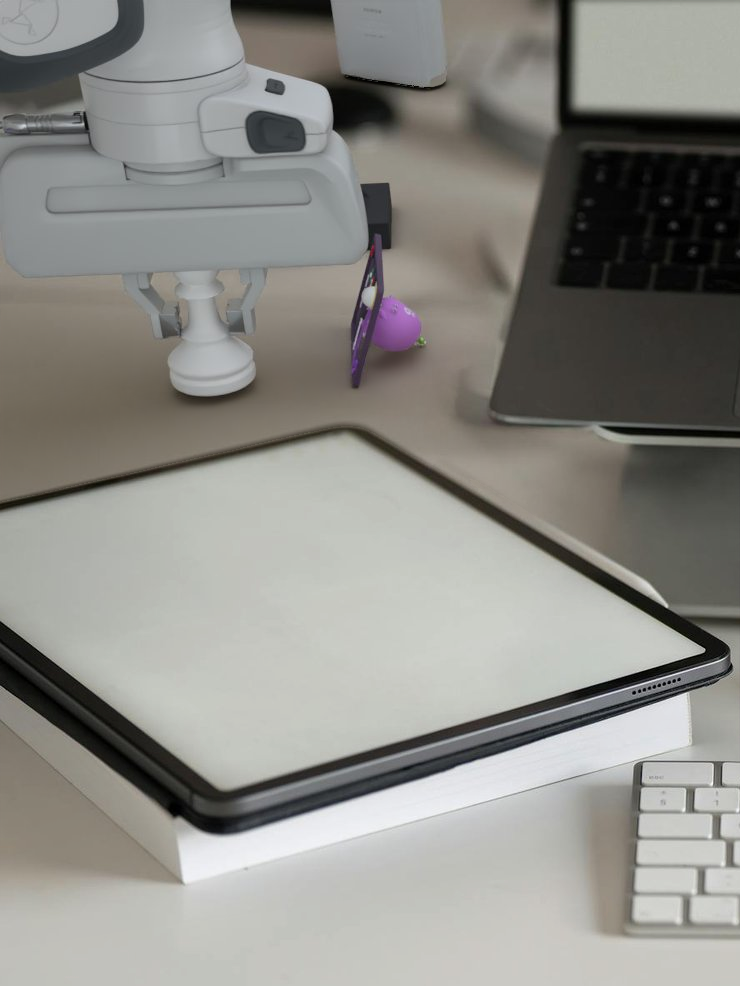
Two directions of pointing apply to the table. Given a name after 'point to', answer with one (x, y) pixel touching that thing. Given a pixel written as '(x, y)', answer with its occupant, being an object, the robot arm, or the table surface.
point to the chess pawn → (207, 342)
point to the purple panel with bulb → (379, 316)
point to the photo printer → (390, 39)
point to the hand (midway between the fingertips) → (206, 333)
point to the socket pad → (378, 212)
